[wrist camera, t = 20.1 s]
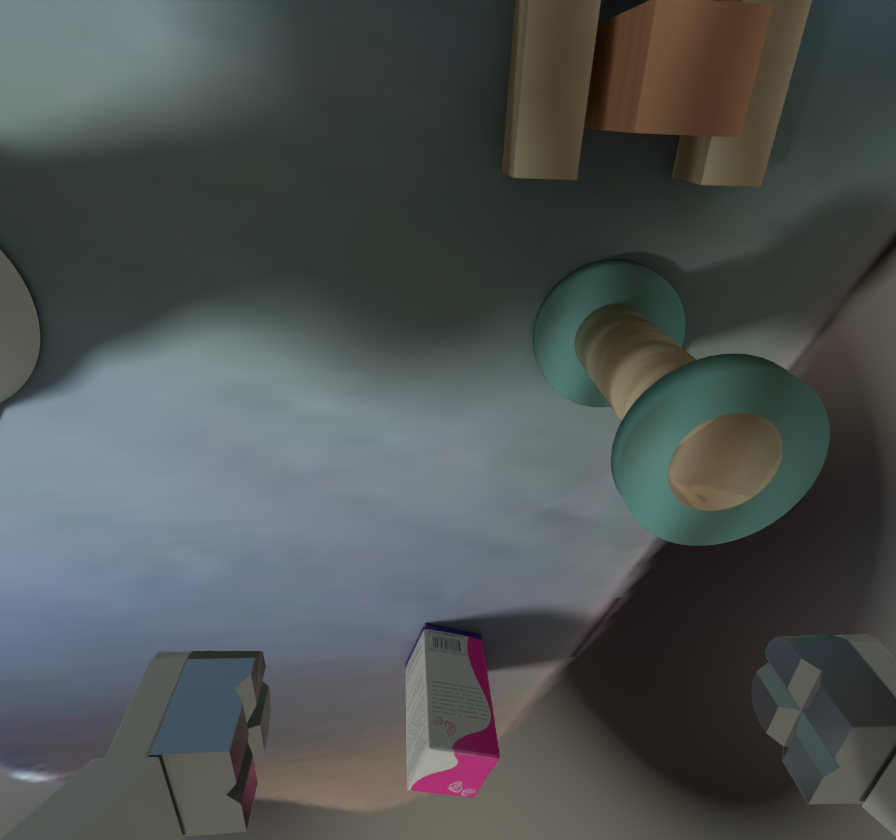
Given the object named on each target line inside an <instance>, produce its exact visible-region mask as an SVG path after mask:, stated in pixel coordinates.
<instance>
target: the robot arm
mask: <svg viewBox="0 0 896 840" xmlns="http://www.w3.org/2000/svg"><path fill="white" fill-rule="evenodd" d="M39 350H40V327H39V321H38V316H37V312H36V309H35V306H34V303H33V300H32V298H31V295H30V293H29V291H28V289H27V287H26V285H25V283H24V281H23V280H22V278H21V276H20V275H19V273H18V272H17V270H16V268H15V267H14V266H13V264H12V263H11V262H10V260H9V259H8V258H7V257H6V255H5V254H4V253H3V252H2V251H1V250H0V403H2V402H3V401H5V400H6V399H8V398H9V397H10V396H12V395H13V394H15V393H16V392H17V391H18V390H19V389H20V388H21V387H22V386H23V385H24V384H25V383H26V381H27V380H28V379H29V377H30V376H31V374H32V372H33V370H34V368H35V365H36V363H37V359H38V355H39ZM765 655H766V657H767V658H768V660H769V663H768V664H766V665H765V666H764V667H762V668H761V669H760V670H759V671H757V672H756V675H755V678H754V681H753V683H752V686H751V687H752V700H753V705H754V708H755V711H756V714H757V717H758V719H759V721H760V722H761V724H762V726H763V728H764V730H765V731H766V733H767V734H768V735H770V736H771V737H772V738H774V739H775V740H776V741H778V742H779V743H780V744H781V745H783V746H784V748H783V762H784V764H785V766H786V767H787V769H788V771H789V772H790V774H791V776H792V778H793V779H794V781H795V783H796V784H797V786H798V788H799V789H800V791H801V793H802V794H803V796H804V798H805V800H806V801H807V803H808V804H846V803H864V804H863V805H862V807H863V808H864V809H865V810H867V811H868V812H869V813H870V814H871V815H872V816H873V817H874V818H876V819H877V820H878V821H879V822H880V823H881V824H882V825H883V826H884V827H886V828H887V829H888V830H889V831H890V832H891V833H892V834H893V835H895V836H896V660H895V659H894V658H893V656H892V655H891V654H890V653H889V652H888V651H887V650H886V649H885V648H884V646H883V645H882V644H881V643H880V642H879V641H877V640H876V639H874V638H872V637H871V636H869V635H836V636H833V635H815V636H791V637H776V638H775V639H773V640H772V641H770V642H769V644H768V647H767V649H766V651H765ZM265 668H266V665H265V660H264V655H263V652H262V651H159V652H158V653H157V654H156V655H155V656H154V657H153V658H152V659H151V661H150V662H149V664H148V666H147V668H146V670H145V672H144V675H143V677H142V679H141V681H140V683H139V685H138V687H137V690H136V692H135V694H134V696H133V698H132V700H131V702H130V705H129V707H128V709H127V711H126V713H125V715H124V717H123V719H122V722H121V724H120V726H119V728H118V730H117V732H116V734H115V737H114V739H113V741H112V743H111V745H110V747H109V749H108V752H107V754H106V756H105V758H103V759H93V760H91V761H90V762H89V763H88V764H87V765H86V766H85V767H83V768H82V769H81V770H80V771H79V772H78V773H76V774H75V775H74V776H73V777H72V778H71V779H70V780H68V781H67V782H66V783H65V784H64V785H63V786H61V787H60V788H59V789H58V790H57V791H56V792H55V793H53V794H52V795H51V796H50V797H49V798H48V799H46V800H45V801H44V802H43V803H42V804H41V805H40V806H38V807H37V808H36V809H35V810H34V811H33V812H32V813H30V814H29V815H28V816H27V817H26V818H25V819H24V820H22V821H21V822H20V823H19V824H18V825H17V826H15V827H14V828H13V829H12V830H11V831H10V832H8V833H7V834H6V835H5V836H4V837H3V838H2V839H0V840H184V838H183V837H184V836H197V835H210V834H222V833H235V832H246V831H247V828H248V824H249V819H250V815H251V810H252V806H253V801H254V797H255V793H256V788H257V784H258V782H257V776H256V770H255V764H254V763H255V762H256V761H257V760H258V759H259V758H260V757H261V755H262V754H263V753H264V752H265V747H266V742H267V737H268V731H269V722H270V692H269V686H268V685H266V684H265V683H264V682H263V681H262V680H263V676H264V672H265Z"/></svg>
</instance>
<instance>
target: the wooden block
mask: <svg viewBox="0 0 896 840" xmlns="http://www.w3.org/2000/svg"><path fill="white" fill-rule="evenodd" d="M772 8H773V4H762V3H746V2H730V1H715V0H649V1H647V2H645V3H643V4H640V5H638V6H636V7H634V8H632V9H630V10H627V11H625V12H623V13H621V14H619V15H616V16H614V17H612V18H610V19H608V20H606V21H603V22H601V23H599V24H598V25H597V33H596V40H595V48H594V55H593V63H592V70H591V78H590V85H589V93H588V100H587V108H586V115H585V123H584V129H594V130H605V131H617V132H629V133H646V134H669V135H691V136H714V137H736V138H740V137H741V133H742V129H743V125H744V121H745V117H746V113H747V109H748V105H749V101H750V97H751V93H752V89H753V85H754V81H755V77H756V73H757V69H758V65H759V61H760V57H761V53H762V49H763V45H764V40H765V36H766V32H767V28H768V24H769V20H770V16H771V12H772Z"/></svg>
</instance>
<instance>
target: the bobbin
mask: <svg viewBox="0 0 896 840" xmlns="http://www.w3.org/2000/svg"><path fill="white" fill-rule="evenodd" d="M685 326H686V321H685V313H684V309H683V305H682V302H681V300H680V298H679V296H678V294H677V293H676V291H675V289H674V288H673V287H672V286H671V285H670V283H669V282H668V281H666V280H665V279H664V278H663V277H662V276H660V275H659V274H657V273H655V272H654V271H652V270H651V269H649V268H647V267H646V266H643V265H641V264H639V263H636V262H632V261H628V260H619V259H613V260H603V261H597V262H594V263H591V264H588V265H585V266H583V267H581V268H579V269H577V270H575V271H574V272H572V273H570V274H569V275H567V276H566V277H565V278H564V279H562V280H561V281H560V282H559V283H558V284H557V285H556V286H555V287H554V288H553V289H552V290H551V292H550V293H549V294H548V295H547V297H546V298H545V300H544V302H543V303H542V305H541V307H540V309H539V312H538V314H537V317H536V320H535V324H534V330H533V349H534V353H535V357H536V360H537V363H538V365H539V367H540V369H541V371H542V373H543V375H544V376H545V378H546V380H547V381H548V383H549V384H550V385H551V386H552V388H553V389H554V390H556V391H557V392H558V393H559V394H560V395H562V396H563V397H565V398H566V399H568V400H570V401H572V402H574V403H577V404H580V405H585V406H590V407H610V406H611V407H612V408H613V410H614V411H615V413H616V414H617V415H618V417H619V418H620V420H621V421H622V422H621V423H620V426H619V428H618V430H617V433H616V435H615V439H614V442H613V446H612V454H611V469H612V475H613V479H614V482H615V485H616V487H617V489H618V491H619V493H620V495H621V496H622V498H623V500H624V502H625V503H626V505H627V507H628V509H629V510H630V512H631V514H632V516H633V517H634V518H635V519H636V521H637V522H638V523H639V524H640V525H641V526H642V527H643V528H645V529H646V530H647V531H649V532H650V533H652V534H653V535H655V536H657V537H659V538H661V539H664V540H666V541H670V542H673V543H677V544H683V545H695V546H698V545H699V546H702V545H714V544H720V543H726V542H729V541H733V540H737V539H740V538H742V537H745V536H748V535H750V534H752V533H754V532H757V531H758V530H761V529H763V528H764V527H766V526H768V525H769V524H771V523H773V522H774V521H775V520H777V519H778V518H780V517H781V516H783V515H784V514H785V513H786V512H788V511H789V510H790V509H791V508H792V507H793V506H794V505H795V504H796V503H797V502H798V501H799V500H800V499H801V498H802V497H803V496H804V495H805V493H806V492H807V491H808V490H809V488H810V487H811V486H812V484H813V483H814V481H815V479H816V478H817V476H818V474H819V472H820V470H821V468H822V466H823V464H824V461H825V458H826V455H827V451H828V446H829V438H830V428H829V420H828V416H827V413H826V410H825V407H824V405H823V403H822V402H821V400H820V398H819V397H818V396H817V394H816V393H815V392H814V390H812V388H810V387H809V386H808V385H807V384H806V383H804V382H803V381H802V380H800V379H799V378H797V377H796V376H794V375H793V374H791V373H790V372H788V371H787V370H785V369H784V368H782V367H781V366H779V365H777V364H775V363H774V362H772V361H769V360H767V359H764V358H761V357H757V356H753V355H747V354H721V355H715V356H709V357H705V358H702V359H698V360H696V359H695V358H694V357H692V356H691V355H690V354H689V353H688V352H687V351H685V350H684V349H683V348H682V345H683V342H684V336H685Z"/></svg>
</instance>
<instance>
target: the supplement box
mask: <svg viewBox="0 0 896 840" xmlns="http://www.w3.org/2000/svg"><path fill="white" fill-rule="evenodd" d="M405 668H406V743H407V790H412V791H421V792H429V793H437V794H445V795H454V796H463V797H470V798H474V797H475V795H476V794H477V792H478V790H479V789H480V787H481V785H482V784H483V782H484V781H485V779H486V778H487V776H488V775H489V773H490V772H491V770H492V769H493V767H494V766H495V764H496V763H497V762H498V760H499V758H500V754H499V747H498V741H497V735H496V728H495V721H494V714H493V708H492V701H491V695H490V688H489V681H488V674H487V667H486V661H485V654H484V647H483V640H482V636H481V635H478V634H473V633H468V632H463V631H457V630H452V629H447V628H442V627H437V626H433V625H428V624H424V626H423V628H422V630H421V632H420V635H419V637H418V639H417V641H416V643H415V645H414V647H413V650H412V651H411V653H410V656H409V658H408V660H407V662H406V665H405Z"/></svg>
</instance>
